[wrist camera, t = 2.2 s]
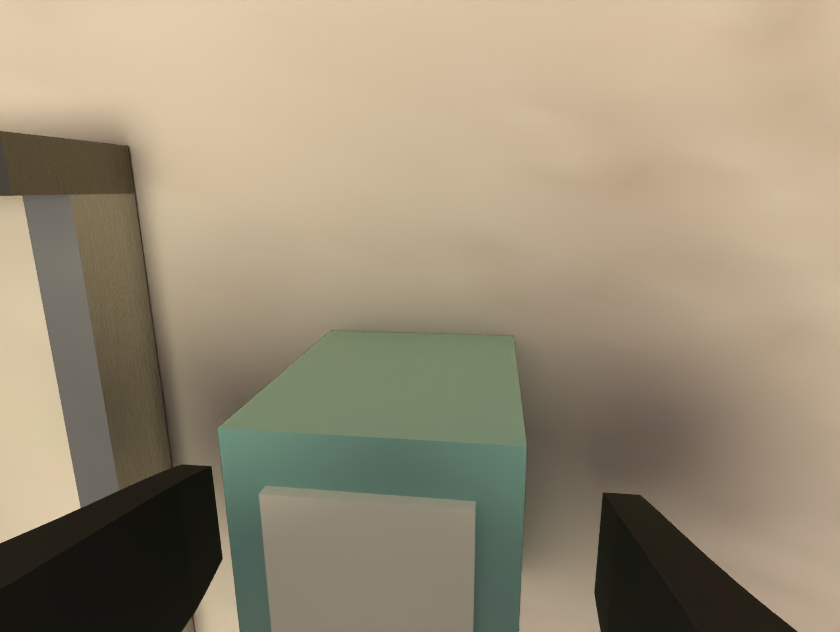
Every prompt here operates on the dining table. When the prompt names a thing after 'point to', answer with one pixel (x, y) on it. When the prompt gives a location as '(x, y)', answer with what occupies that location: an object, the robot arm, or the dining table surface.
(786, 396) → the dining table surface
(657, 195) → the dining table surface
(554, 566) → the dining table surface
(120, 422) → the rail
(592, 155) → the dining table surface
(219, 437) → the module
